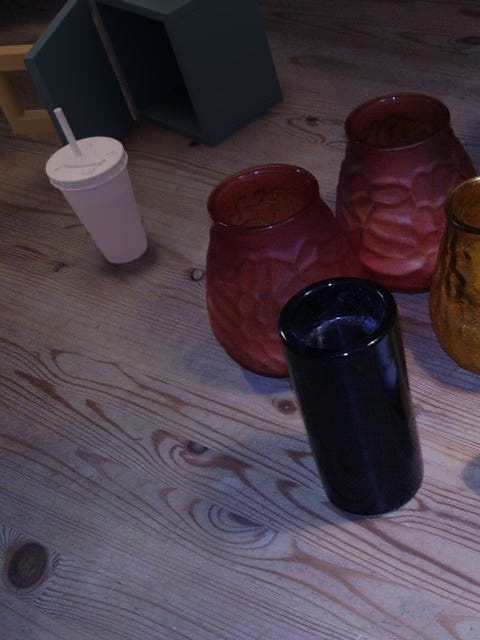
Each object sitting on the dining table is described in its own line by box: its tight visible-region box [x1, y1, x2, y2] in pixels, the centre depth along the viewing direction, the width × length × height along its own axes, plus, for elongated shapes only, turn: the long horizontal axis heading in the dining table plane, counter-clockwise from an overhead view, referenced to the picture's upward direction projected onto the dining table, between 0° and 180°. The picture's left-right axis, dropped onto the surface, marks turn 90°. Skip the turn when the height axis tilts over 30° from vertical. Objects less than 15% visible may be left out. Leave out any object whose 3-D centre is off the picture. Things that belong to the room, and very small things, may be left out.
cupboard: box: [88, 0, 285, 149], centre depth 98 cm, size 10×12×14 cm
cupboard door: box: [0, 0, 135, 147], centre depth 94 cm, size 6×12×14 cm, turn 175°
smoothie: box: [45, 108, 148, 264], centre depth 83 cm, size 6×6×14 cm
